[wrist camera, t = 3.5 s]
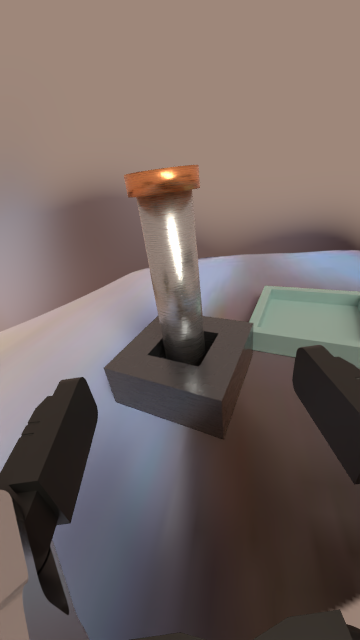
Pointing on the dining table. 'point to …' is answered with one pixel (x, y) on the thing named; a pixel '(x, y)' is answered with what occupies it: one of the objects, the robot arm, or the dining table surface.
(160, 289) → the pin
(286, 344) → the tray
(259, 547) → the dining table surface
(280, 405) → the dining table surface
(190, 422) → the block
